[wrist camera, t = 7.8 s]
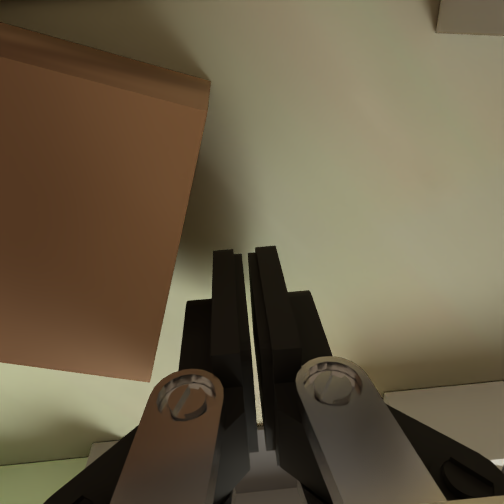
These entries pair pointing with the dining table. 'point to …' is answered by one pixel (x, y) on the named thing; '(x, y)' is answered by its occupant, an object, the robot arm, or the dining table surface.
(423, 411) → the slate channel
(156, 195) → the walnut block
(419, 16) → the dining table surface
